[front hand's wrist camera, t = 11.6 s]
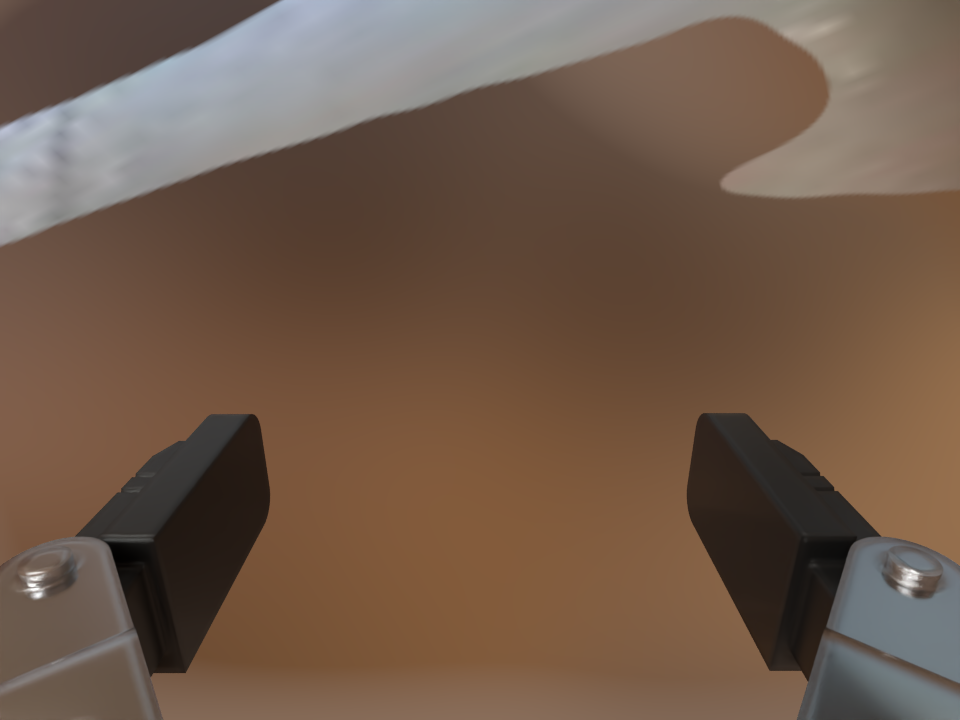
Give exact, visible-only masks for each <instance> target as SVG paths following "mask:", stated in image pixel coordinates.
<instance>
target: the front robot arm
mask: <svg viewBox="0 0 960 720" xmlns="http://www.w3.org/2000/svg"><path fill="white" fill-rule="evenodd" d="M687 504H688V511H689V515H690V518H691V521H692V523H693V525H694V527H695V529H696V531H697V533H698V535H699V537H700V539H701V541H702V543H703V544H704V546H705V548H706V550H707V552H708V554H709V556H710V558H711V560H712V562H713V564H714V565H715V567H716V569H717V571H718V573H719V575H720V577H721V579H722V581H723V583H724V585H725V586H726V588H727V590H728V592H729V594H730V596H731V598H732V600H733V602H734V604H735V606H736V607H737V609H738V611H739V613H740V615H741V617H742V619H743V621H744V623H745V625H746V627H747V628H748V630H749V632H750V634H751V636H752V638H753V640H754V642H755V644H756V646H757V648H758V649H759V651H760V653H761V655H762V657H763V659H764V661H765V663H766V665H767V667H768V669H769V670H770V671H802V672H803V674H804V675H805V677H806V679H807V681H808V685H807V688H806V691H805V695H804V698H803V701H802V704H801V708H800V711H799V714H798V717H797V720H960V566H959V565H958V564H956V563H955V562H953V561H952V560H950V559H949V558H947V557H945V556H944V555H942V554H940V553H938V552H936V551H934V550H932V549H929V548H927V547H925V546H922V545H919V544H916V543H913V542H910V541H906V540H902V539H897V538H890V537H881V536H880V535H879V534H878V533H877V531H876V530H875V529H874V528H873V527H872V526H871V525H870V524H869V523H868V522H867V521H866V520H865V519H864V518H863V517H862V516H861V515H860V514H859V513H858V512H857V511H856V510H855V509H854V507H853V506H852V505H851V504H850V503H849V502H848V501H847V500H846V499H845V498H844V497H843V496H842V495H841V494H840V493H839V492H838V491H834V487H833V486H832V485H831V484H830V482H829V481H828V480H827V479H826V478H825V477H824V476H820V472H819V471H818V470H817V469H816V468H815V467H814V466H813V465H812V464H811V463H810V462H809V461H808V460H807V458H805V456H804V455H802V454H801V453H799V452H797V451H795V450H794V449H792V448H790V447H788V446H787V445H785V444H783V443H781V442H780V441H778V440H770V439H769V438H768V437H767V436H766V434H765V433H764V432H763V431H762V430H761V429H760V428H759V427H758V426H757V424H756V423H755V422H754V421H753V420H752V419H751V418H750V417H749V416H748V415H747V414H745V413H703V414H701V416H700V417H699V419H698V421H697V425H696V431H695V437H694V444H693V451H692V458H691V465H690V471H689V478H688V485H687ZM269 505H270V488H269V481H268V474H267V467H266V461H265V454H264V447H263V440H262V434H261V428H260V423H259V421H258V418H257V417H256V416H255V415H253V414H211V415H209V416H208V417H207V418H206V419H205V420H204V421H203V422H202V423H201V425H200V426H199V427H198V428H197V429H196V430H195V431H194V432H193V433H192V434H191V436H190V437H189V438H188V439H187V440H186V441H178V442H177V443H175V444H173V445H171V446H170V447H168V448H166V449H164V450H163V451H161V452H159V453H157V454H156V455H154V456H152V458H151V459H150V460H149V461H148V462H147V463H146V464H145V465H144V466H143V467H142V468H141V469H140V470H139V471H138V472H137V473H136V477H132V478H131V479H130V480H129V481H128V482H127V483H126V485H124V486H123V487H122V489H121V493H117V494H116V495H115V496H114V497H113V498H112V499H111V500H110V501H109V502H108V503H107V504H106V505H105V506H104V507H103V508H102V509H101V510H100V511H99V512H98V513H97V514H96V515H95V516H94V518H92V519H91V521H90V522H89V523H88V524H87V525H86V526H85V527H84V528H83V529H82V530H81V531H80V532H79V533H78V534H77V535H76V536H75V537H70V538H63V539H59V540H54V541H50V542H47V543H44V544H41V545H38V546H35V547H33V548H31V549H28V550H26V551H24V552H22V553H20V554H18V555H16V556H15V557H13V558H11V559H10V560H8V561H7V562H5V563H4V564H2V565H1V566H0V720H163V717H162V714H161V711H160V708H159V704H158V701H157V698H156V694H155V691H154V688H153V684H152V681H151V676H152V674H153V673H186V671H187V669H188V667H189V666H190V664H191V662H192V660H193V658H194V656H195V654H196V652H197V651H198V649H199V647H200V645H201V643H202V641H203V639H204V637H205V635H206V634H207V632H208V630H209V628H210V626H211V624H212V622H213V620H214V618H215V617H216V615H217V613H218V611H219V609H220V607H221V605H222V603H223V602H224V600H225V598H226V596H227V594H228V592H229V590H230V588H231V586H232V584H233V583H234V581H235V579H236V577H237V575H238V573H239V571H240V569H241V568H242V566H243V564H244V562H245V560H246V558H247V556H248V554H249V552H250V550H251V549H252V547H253V545H254V543H255V541H256V539H257V537H258V535H259V534H260V532H261V530H262V528H263V526H264V524H265V522H266V519H267V516H268V511H269Z"/></svg>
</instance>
